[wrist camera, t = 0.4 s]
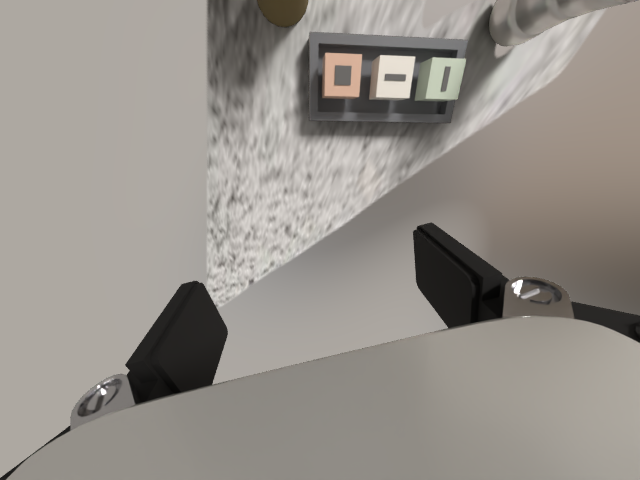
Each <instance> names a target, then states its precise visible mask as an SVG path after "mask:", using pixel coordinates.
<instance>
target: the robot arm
mask: <svg viewBox="0 0 640 480" xmlns="http://www.w3.org/2000/svg"><path fill="white" fill-rule="evenodd" d="M413 239H414V253H415V269H416V282H417V286H418V288H419V289H420V291H421V292H422V293H423V295H424V296H425V297H426V299H427V300H428V301H429V303H430V304H431V305H432V307H433V308H434V309H435V311H436V312H437V313H438V315H439V316H440V317H441V319H442V320H443V321H444V323H445V324H446V325H447V327H448V329H443V330H439V331H435V332H430V333H426V334H422V335H418V336H413V337H409V338H405V339H400V340H396V341H392V342H387V343H383V344H379V345H375V346H371V347H366V348H362V349H358V350H353V351H349V352H345V353H341V354H337V355H333V356H328V357H324V358H320V359H316V360H312V361H307V362H303V363H299V364H295V365H291V366H287V367H283V368H279V369H274V370H270V371H266V372H262V373H258V374H254V375H250V376H246V377H242V378H238V379H234V380H230V381H226V382H222V383H218V384H214V385H212V383H213V379H214V376H215V373H216V370H217V367H218V364H219V361H220V357H221V354H222V351H223V348H224V345H225V341H226V338H227V335H228V331H227V327H226V325H225V323H224V321H223V320H222V318H221V316H220V314H219V312H218V310H217V308H216V306H215V305H214V303H213V301H212V299H211V297H210V295H209V293H208V292H207V290H206V288H205V286H204V284H203V283H199V282H198V281H193V282H188V283H184V284H182V285H181V286H180V287H179V289H178V290H177V292H176V293H175V294H174V296H173V297H172V299H171V300H170V302H169V303H168V304H167V306H166V307H165V309H164V310H163V312H162V313H161V315H160V316H159V317H158V319H157V320H156V322H155V323H154V324H153V326H152V327H151V329H150V330H149V332H148V333H147V334H146V336H145V337H144V339H143V340H142V342H141V343H140V344H139V346H138V347H137V349H136V350H135V352H134V353H133V354H132V356H131V357H130V359H129V360H128V362H127V363H126V364H125V365H126V367H127V368H128V369H129V370H130V371H129V373H128V374H127V375H124V374H117V375H113V376H111V377H108V378H106V379H104V380H103V381H101V382H99V383H98V384H96V385H95V386H94V387H92V388H91V389H90V390H89V391H88V392H87V393H86V394H85V395H83V396H82V398H81V399H80V400H79V401H78V402H77V404H76V405H75V407H74V409H73V410H72V413H71V425H70V426H69V427H68V428H66V429H65V430H64V431H63V432H61V433H60V434H58V435H57V436H56V437H54V438H53V439H52V440H50V441H49V442H48V443H46V444H45V445H44V446H42V447H41V448H40V449H38V450H37V451H36V452H34V453H33V454H32V455H30V456H29V457H28V458H26V459H25V460H24V461H22V462H21V463H20V464H19V465H17V466H16V467H14V468H13V469H12V470H11V471H9V472H8V473H6V474H5V475H4V476H2V477H1V478H0V480H640V316H638V315H634V314H629V313H624V312H620V311H615V310H610V309H605V308H600V307H595V306H591V305H586V304H581V303H576V302H571V299H570V296H569V294H568V292H567V291H566V290H565V289H564V288H562V287H561V286H560V285H558V284H556V283H554V282H552V281H549V280H546V279H542V278H538V277H527V276H524V277H516V278H513V279H511V280H508V279H507V278H506V277H504V276H503V275H502V273H501V272H500V271H498V270H497V269H495V268H494V267H493V266H491V265H490V264H488V263H487V262H486V261H484V260H483V259H482V258H480V257H479V256H477V255H476V254H475V253H473V252H472V251H470V250H469V249H468V248H466V247H465V246H464V245H462V244H461V243H459V242H458V241H457V240H455V239H454V238H453V237H451V236H450V235H448V234H447V233H445V232H444V231H443V230H441V229H440V228H439V227H437V226H436V225H434V224H433V223H428V224H424V225H420V226H418V227H417V230H414V232H413Z"/></svg>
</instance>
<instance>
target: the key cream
mask: <svg viewBox="0 0 640 480" xmlns="http://www.w3.org/2000/svg"><path fill="white" fill-rule="evenodd" d="M414 63H415V57H413V56H390V55H380V56H378V57H377V58H376V59H375V60H373V61H372V71H371V83H370V94H369V99H370V100H403V99H408V98H409V97H410V90H411V83H412V76H413V69H414Z"/></svg>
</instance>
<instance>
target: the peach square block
mask: <svg viewBox="0 0 640 480" xmlns="http://www.w3.org/2000/svg"><path fill="white" fill-rule="evenodd" d="M361 64H362V54H344V53H325V55H324V57H323V66H322V98H332V99H355V98H357V97H359V92H360V78H361Z"/></svg>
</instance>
